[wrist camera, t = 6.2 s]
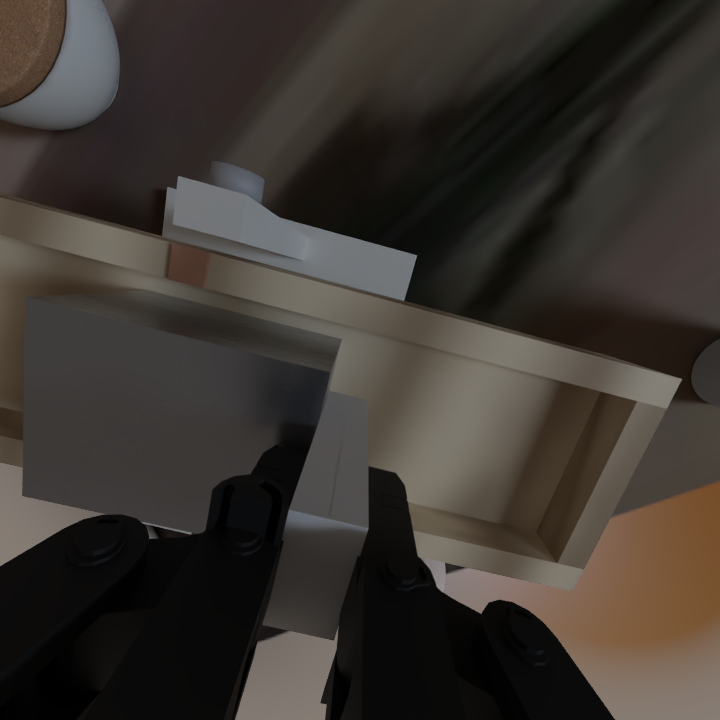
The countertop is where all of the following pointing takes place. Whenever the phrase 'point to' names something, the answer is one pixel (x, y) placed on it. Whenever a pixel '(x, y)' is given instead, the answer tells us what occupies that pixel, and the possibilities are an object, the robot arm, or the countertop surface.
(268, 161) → the countertop surface
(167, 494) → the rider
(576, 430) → the beam
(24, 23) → the lidded jar
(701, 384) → the coffee cup
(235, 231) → the stand
